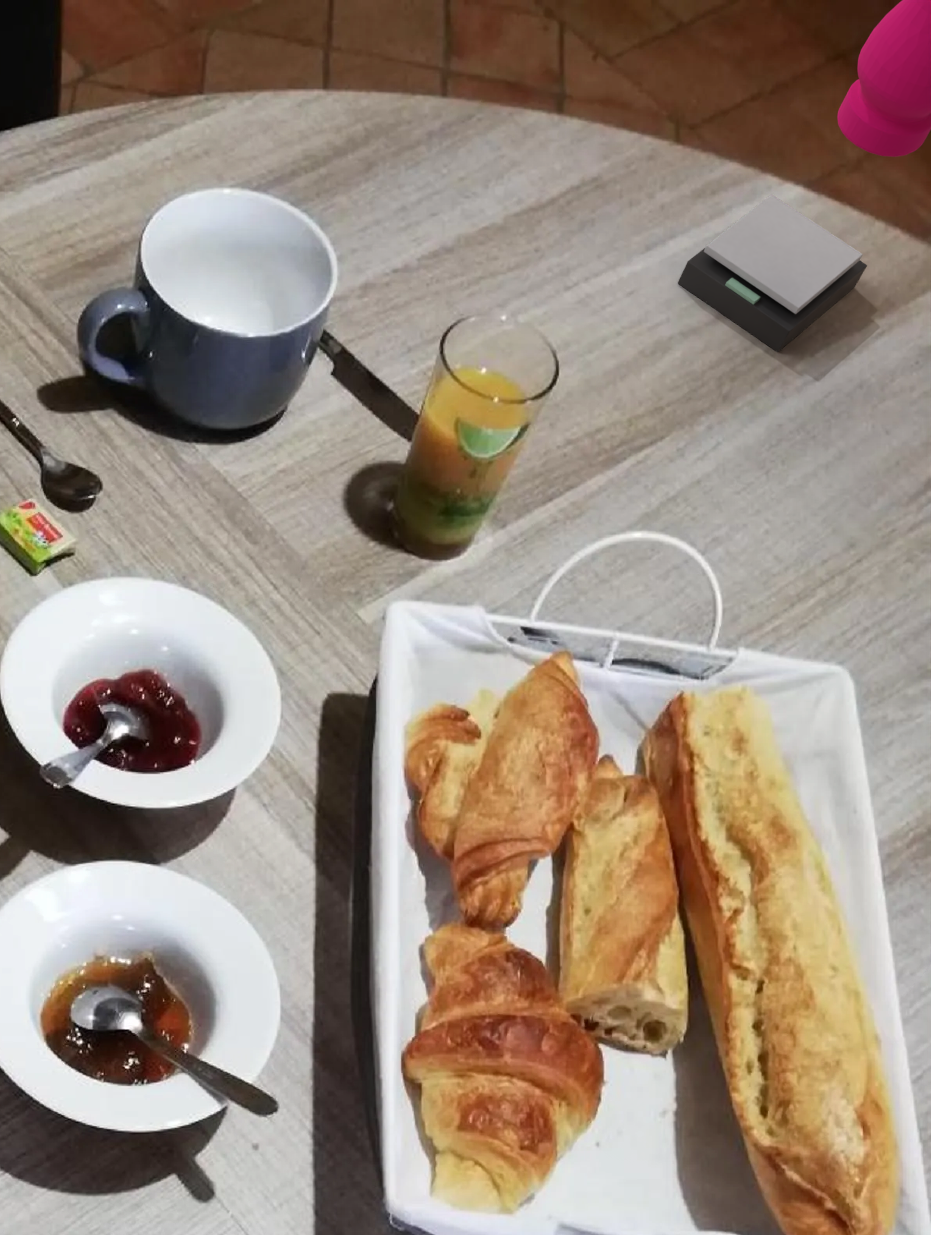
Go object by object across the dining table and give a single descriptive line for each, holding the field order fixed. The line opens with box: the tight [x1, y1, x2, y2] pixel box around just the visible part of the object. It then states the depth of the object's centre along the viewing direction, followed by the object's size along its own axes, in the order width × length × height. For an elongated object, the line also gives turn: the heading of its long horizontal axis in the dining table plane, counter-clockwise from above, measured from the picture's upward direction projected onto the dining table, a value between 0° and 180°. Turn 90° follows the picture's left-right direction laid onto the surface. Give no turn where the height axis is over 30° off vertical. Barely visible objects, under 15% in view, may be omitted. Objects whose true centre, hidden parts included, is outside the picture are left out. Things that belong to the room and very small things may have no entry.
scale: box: [677, 193, 868, 353], centre depth 131 cm, size 10×11×3 cm
